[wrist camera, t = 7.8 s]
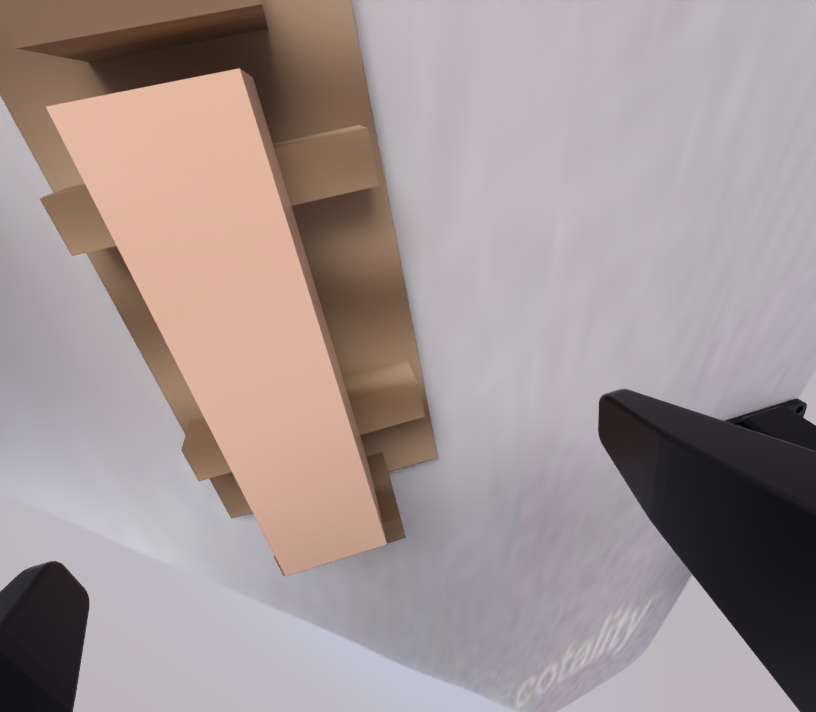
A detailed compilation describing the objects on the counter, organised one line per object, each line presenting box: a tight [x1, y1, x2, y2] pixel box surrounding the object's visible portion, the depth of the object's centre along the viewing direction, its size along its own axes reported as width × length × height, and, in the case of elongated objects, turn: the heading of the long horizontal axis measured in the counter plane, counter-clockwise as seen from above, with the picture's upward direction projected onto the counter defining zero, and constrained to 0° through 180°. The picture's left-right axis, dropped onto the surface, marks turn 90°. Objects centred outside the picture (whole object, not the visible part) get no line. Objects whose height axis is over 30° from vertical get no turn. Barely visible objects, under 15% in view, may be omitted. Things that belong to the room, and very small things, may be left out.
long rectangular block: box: [46, 68, 387, 576], centre depth 14 cm, size 14×4×4 cm, turn 11°
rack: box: [0, 0, 438, 576], centre depth 16 cm, size 19×10×5 cm, turn 10°
